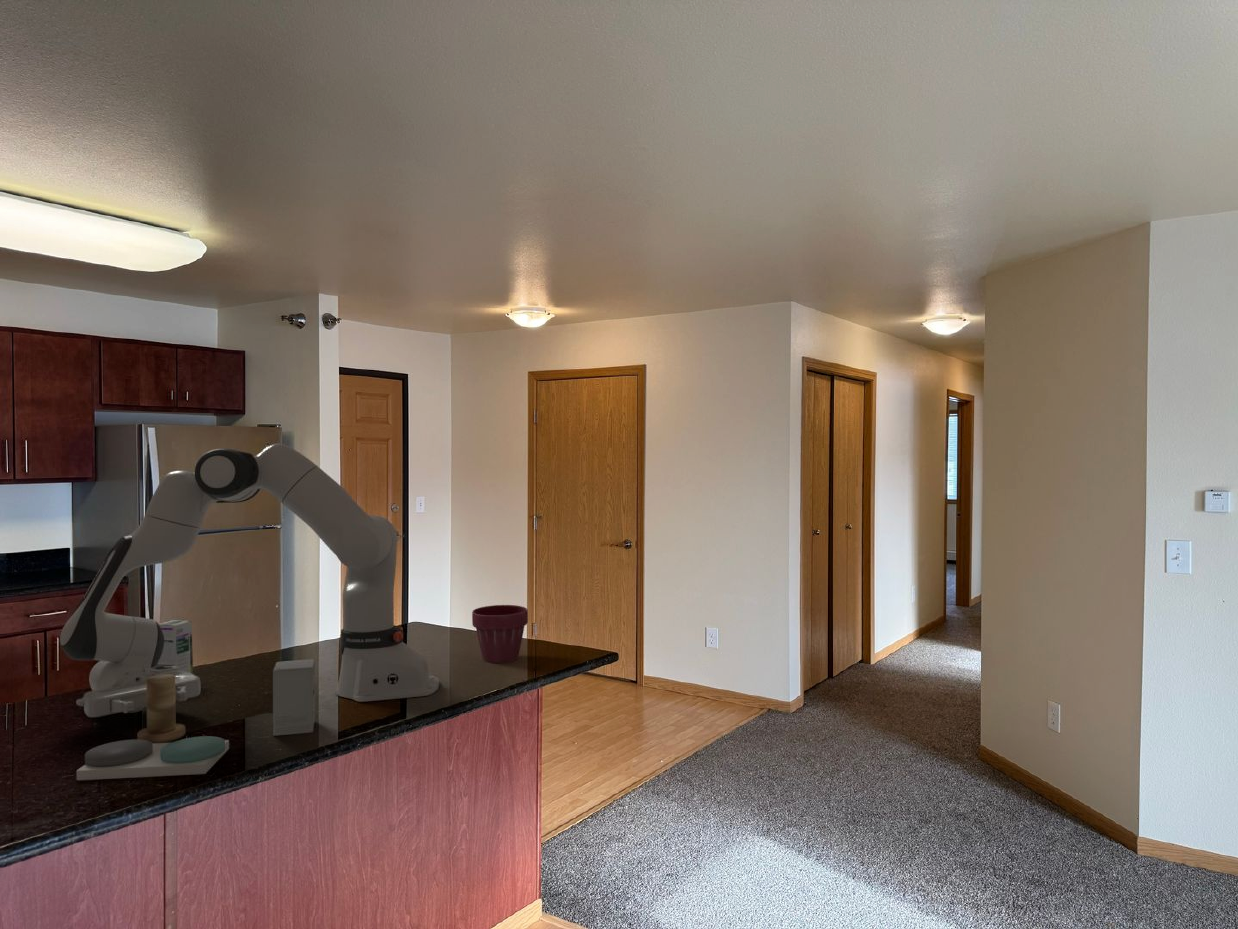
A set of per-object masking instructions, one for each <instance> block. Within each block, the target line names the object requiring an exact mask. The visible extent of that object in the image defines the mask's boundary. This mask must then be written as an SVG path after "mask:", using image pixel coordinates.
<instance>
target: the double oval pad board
mask: <svg viewBox="0 0 1238 929" xmlns="http://www.w3.org/2000/svg"><path fill="white" fill-rule="evenodd" d="M229 749H230V740H229V739H224V738H222V737H218V736H215V735H214V736H211V735H210V736H207V735H206V736H205V735H204V736H193V737H192V736H191V737H187V738H182V739H179V740H178V739H177V740H174V741H173V742H172V741H171V742H164V743H154V744H152V742H150V741H147V740H137V739H124V740H117V741H112V742H111V741H110V742H108V743H104V744H101V745H98V746H94V747H92V748H91V749H89V750H87V751H86V752H85V754H84V765H83V766H81V767H80V768H78V769H77V770H76V781H92V780H93V781H94V780H95V781H96V780H109V779H111V780H112V779H127V778H128V779H129V778H131V779H132V778H151V777H152V778H153V777H167V776H168V777H172V776H184V775H185V776H189V775H205V774H207V773H208V772H209V771H210V770H211V768H213V767H214V765H215V764H216V763H217V762H218V761H219V760H220V759H221V758H222V757H223V756H224V755H225V754H226V753H227V751H228V750H229Z"/></svg>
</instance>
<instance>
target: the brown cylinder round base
mask: <svg viewBox="0 0 1238 929" xmlns="http://www.w3.org/2000/svg"><path fill="white" fill-rule="evenodd" d="M146 692H147V707H146V727H145V728H142V729H140V730H139V731H138V732H137V738H136V740H147V741H150V742H152V744H154V743H170V742H172V741H173V742H174V741H177V740H178V739H181V738H183V737H184V736H185V735H186V726H185V724H182V723H176V717H177V716H176V715H177V713H176V711H177V710H176V708H177V707H176V705H177V704H176V702H177V701H176V700H175V675H172V674H163V675H156V676H152V677H149V678H147V679H146Z"/></svg>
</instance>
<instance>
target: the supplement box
mask: <svg viewBox="0 0 1238 929" xmlns="http://www.w3.org/2000/svg"><path fill="white" fill-rule="evenodd" d="M315 662H316V661H315V658H311V659H297V660H285V661H276V662H275V664H274V666H273V670H272V727H273V730H272V736H274V737H275V736H277V737H278V736H288V735H298V734H308V733H310V734H311V733H313V732H314V726H315V721H316V690H315V689H316V681H315V680H316V678H315V677H316V675H315V674H316V673H315V672H316V671H315V668H316V667H315V665H316V664H315Z"/></svg>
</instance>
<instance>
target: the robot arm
mask: <svg viewBox="0 0 1238 929" xmlns="http://www.w3.org/2000/svg"><path fill="white" fill-rule="evenodd" d="M260 490H264V491H266V492H267V493H269V494H270V495H272V496H274V497H275V498H276V500H278V501H279V502H281V504H282V505H284V506H285V507H286V508H287V509H288V510H290V511H291V512H292V513H293V514H294V515H296V516H297V517H298V518H299V519H301V521H303V522H304V523H305V524H307V526H308V527H310V529H311V530H313V532H314V533H315V534H316V535H317V536H318V538H319V539H320V540H321V541H322V542H323V543H324V545H325V546H326V547H328V549H329V550H330V551H331V552H332V553H333V554H334V555H335V556H336V557H337V559H338V561H339V562H340V563H341V564H342V565H344V566H345V567H346V569H345V570H346V571H345V576H344V578H345V579H344V585H343V586H344V587H343V590H342V628H341V630H340V634H339V644H340V648H339V649H340V654H341V665H340V672H339V678H338V682H337V687H336V689H335V694H336V695H337V696H339V697H342V698H347V699H351V700H354V701H356V702H359V703H362V702H374V701H375V702H376V701H384V700H395V699H406V698H408V699H409V698H414V697H415V698H416V697H417V698H418V697H426V696H430V695H432V694H434V693H435V692H436V691H438V689H439V687H440V681H439V680H440V679H439V678H438V677H437V676H435V675H430V669H429V665H428V661H427V660H426V658H425V656H423V655H422V654H421V653H420V652H418V651H416V650H415V649H414V648H412V647H410V645H408V644H406V643H405V642H404V630H403V627H399V626H397V625H396V624H395V620H394V619H395V617H394V616H395V615H394V613H395V609H394V608H395V606H394V602H395V599H394V596H395V595H394V593H395V592H394V590H395V579H396V568H397V554H398V553H397V552H398V548H397V547H398V546H397V545H398V534H397V531H396V528H395V526H394V524H393V523H392V522H390V520H388V519H387V518H385V517H383V516H381V515H369V514H368V513H367V512H366V511H364V510H363V509H362V507H360V505H359V504H358V503H357V502H356V500H354V499H353V498H352V496H350V494H348V491H347V490H346V489H345V488H344V487H342V486H341V485H340V484H339V483H338V482H337V481H336V480H334V479H333V478H332V477H331V476H329V474H327V473H326V472H325V471H324V470H323V469H321V468H320V467H319V466H318V465H317V464H315V463H314V462H313V461H312V460H311V459H310V458H308V457H306V456H305V455H304V454H302V453H300V452H299V451H297V450H296V449H294V448H293V447H290V446H288V445H286V444H285V443H279V442H278V443H273V444H271V445H268V446H266V447H265V448H263V449H262V450H261V451H260V452H259V453H258V454H256V455H253V454H252V453H251V452H246V451H241V450H236V449H231V448H215V449H212V450H209V451H207V452H205V453H204V454H203V455H201V457H200V458H199V459H198V461H197V462H196V464H195V466H194V472H193V471H189V470H174V471H170V472H168V473H167V474H165V475H164V476H163V477H162V479H161V481H160V482H159V484H158V486H157V487H156V489H155V491H154V492H153V495H152V496H151V499H150V501H149V504H148V506H147V509H146V511H145V514H144V517H143V519H142V521H141V523H140V524H139V526H138V527H137V528H136V529H135V530H133V532H132V533H130V534H129V535H126V536H121V537H120V538H119V539H118V540H117V541H116V542H115V543H114V545H113V546H112V547H111V549H110V551H109V552H108V554H107V555H106V557H105V559H104V560H103V562H102V564H101V565H100V567H99V569H98V571H97V572H96V574H95V576H94V578H93V579H92V581H91V583H90V584H89V586H88V588H87V590H86V592H85V594H84V595H83V597H82V599H81V601H79V603H78V605H77V607H75V609H74V610H73V612H72V614H71V615H70V617H69V618H68V619H67V621H66V622H65V624H64V626H63V627H62V630H61V633H60V637H59V646H60V648H61V650H62V651H63V652H64V653H65V654H66V655H67V657H69V659H71V660H73V661H97V663H96V664H94V666H93V667H92V668H91V670H90V673H89V678H88V681H89V686H90V688H91V691H87V692H86V693H84V694H83V696H82V698H78V699H76V701H75V703H76V705H77V706H79V707H83V711H84V713H85V715H86V716H87V717H88V718H100V717H105V716H108V715H114V714H117V713H118V714H119V713H124V714H132V713H133V714H134V713H138V712H141V711H144V710H145V709H147V692H146V679H147V678H149V677H152V676H156V675H163V674H172V675H175V700H176V702H185V701H187V700H188V699H190V698H196V697H198V696H199V695H200V694H201V679H200V677H199V676H197V675H195V674H194V673H193V674H192V673H189V672H186V671H180V670H179V667H177V666H165V667H155V666H156V665H157V663H158V661H159V659H160V657H161V654H162V651H163V647H164V635H163V632H162V630H161V627H160V626H159V624H160V623H158V622H157V621H156V619H154V618H153V619H152V618H146V617H142V616H141V617H140V616H133V615H130V616H129V615H123V614H117V613H110V612H105V610H106V608H107V606H108V605H109V603H110V602H111V601H110V600H111V599H112V598H113V595H114V594H115V592H116V590H117V589H118V586H120V583H121V582H122V580H123V578H124V577H125V576H126V575H127V574H128V573H129V572H132V571H133V570H135V569H138V568H142V567H145V566H153V565H158V564H159V565H161V564H166V563H170V562H173V561H175V560H178V559H180V558H182V557H184V556H185V555H187V554H188V553H189V552H190V551H191V550H192V548H193V547H194V545H195V543H196V540H197V539H198V536H199V533H200V530H201V526H202V524H203V521H204V517H205V515H206V513H207V511H208V509H209V508H210V506H211V505H212V504H214V503H215V504H223V503H234V504H235V503H243V502H247V501H249V500H251V499H252V498H254V497H255V496H256V495H258V493H259V492H260Z"/></svg>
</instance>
